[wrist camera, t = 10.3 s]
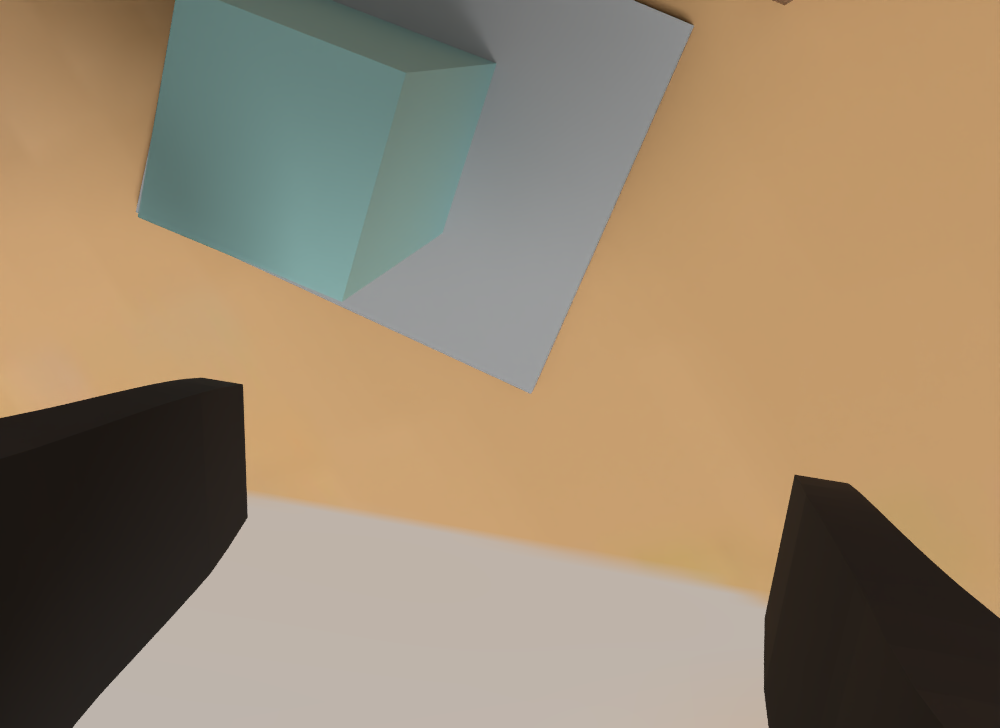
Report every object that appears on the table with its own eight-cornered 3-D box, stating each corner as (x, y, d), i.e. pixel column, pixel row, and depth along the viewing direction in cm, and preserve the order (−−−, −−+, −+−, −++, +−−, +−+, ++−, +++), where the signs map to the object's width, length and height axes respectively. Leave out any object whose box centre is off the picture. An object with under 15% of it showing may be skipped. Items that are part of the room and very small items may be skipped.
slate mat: (693, 25, 19) (693, 25, 18) (533, 387, 22) (530, 393, 22) (227, -170, 20) (217, -174, 19) (144, 209, 23) (135, 212, 23)
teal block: (496, 63, 19) (406, 72, 14) (441, 233, 21) (342, 302, 16) (330, -1, 20) (177, -16, 14) (288, 171, 21) (137, 216, 16)
